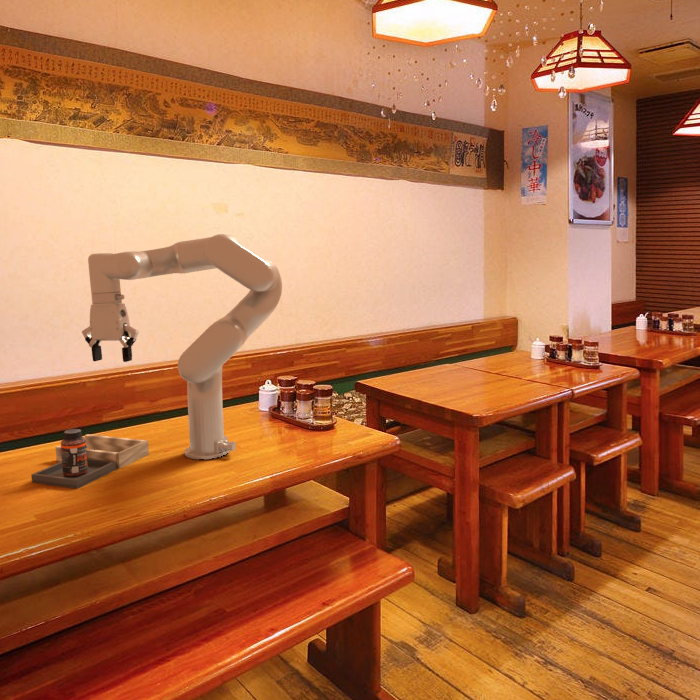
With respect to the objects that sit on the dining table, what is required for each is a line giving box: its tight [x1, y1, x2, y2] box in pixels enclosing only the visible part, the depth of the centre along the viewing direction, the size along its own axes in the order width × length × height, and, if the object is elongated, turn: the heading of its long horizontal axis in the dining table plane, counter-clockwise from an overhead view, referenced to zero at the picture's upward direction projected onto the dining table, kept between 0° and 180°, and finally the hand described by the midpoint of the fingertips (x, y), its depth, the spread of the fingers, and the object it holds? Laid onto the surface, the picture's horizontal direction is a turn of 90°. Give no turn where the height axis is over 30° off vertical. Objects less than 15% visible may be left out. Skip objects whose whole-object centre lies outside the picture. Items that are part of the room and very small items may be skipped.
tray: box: [31, 459, 117, 489], centre depth 158 cm, size 14×14×2 cm
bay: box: [55, 433, 150, 469], centre depth 172 cm, size 21×12×4 cm, turn 71°
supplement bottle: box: [60, 428, 88, 477], centre depth 158 cm, size 6×6×11 cm
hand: (112, 360), depth 171 cm, fingers open, 9 cm apart
